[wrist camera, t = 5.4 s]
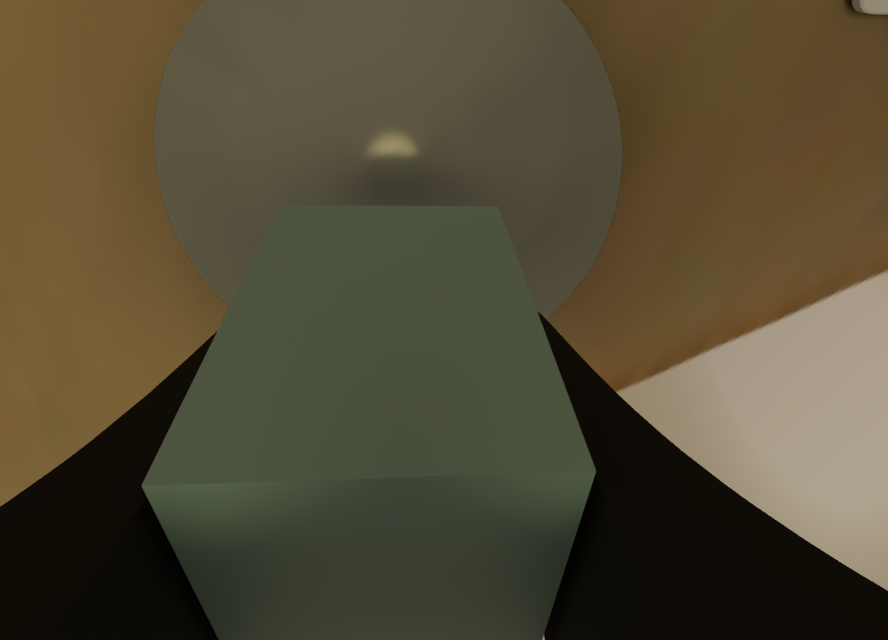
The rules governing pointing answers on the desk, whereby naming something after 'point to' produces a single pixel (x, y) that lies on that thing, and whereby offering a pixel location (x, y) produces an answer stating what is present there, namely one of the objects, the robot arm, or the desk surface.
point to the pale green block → (376, 437)
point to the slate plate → (389, 125)
